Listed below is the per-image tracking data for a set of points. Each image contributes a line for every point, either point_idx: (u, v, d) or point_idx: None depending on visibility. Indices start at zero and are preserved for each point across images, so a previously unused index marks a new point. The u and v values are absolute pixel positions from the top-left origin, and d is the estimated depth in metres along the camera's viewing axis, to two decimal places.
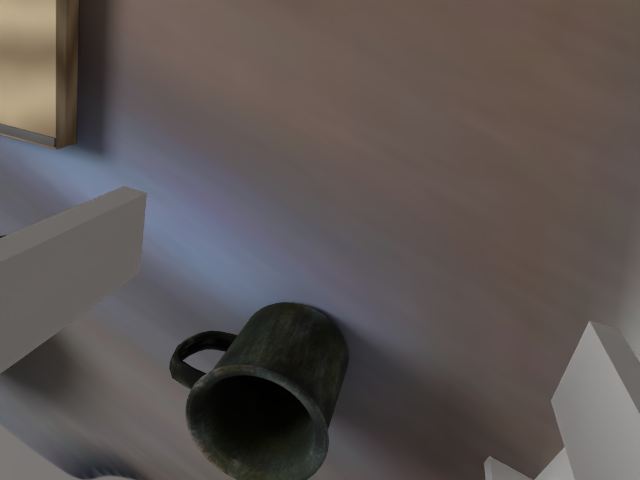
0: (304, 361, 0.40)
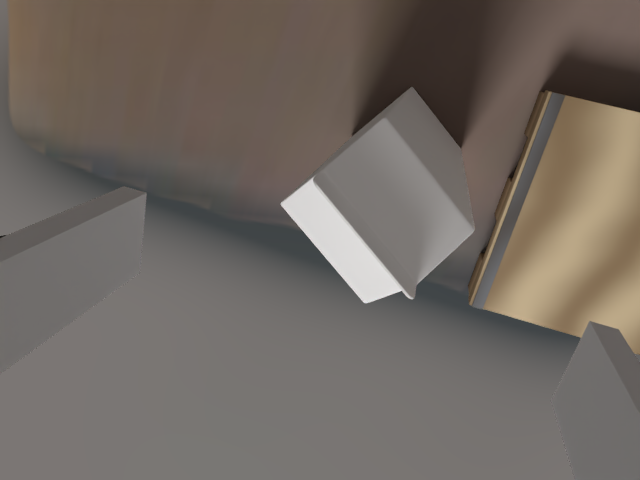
0: None
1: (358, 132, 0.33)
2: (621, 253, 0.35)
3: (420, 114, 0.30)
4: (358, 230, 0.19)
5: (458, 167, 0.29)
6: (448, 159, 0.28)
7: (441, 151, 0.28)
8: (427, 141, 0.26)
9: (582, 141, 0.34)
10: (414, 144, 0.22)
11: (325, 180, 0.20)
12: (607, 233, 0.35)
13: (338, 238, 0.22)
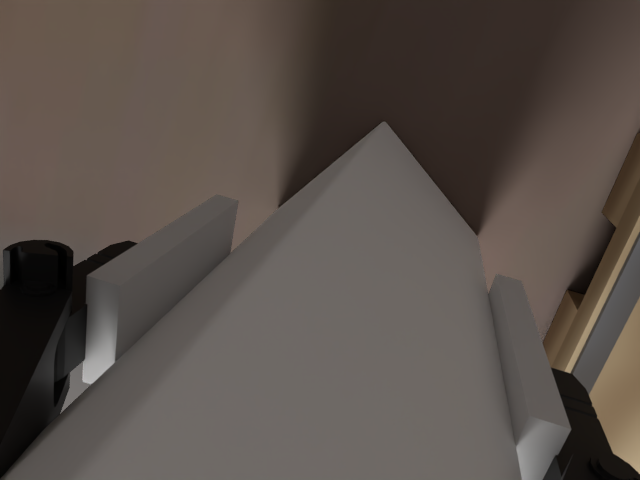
0: None
1: (258, 231, 0.15)
2: None
3: (389, 206, 0.13)
4: None
5: (483, 349, 0.12)
6: (459, 352, 0.10)
7: (440, 337, 0.10)
8: (393, 352, 0.08)
9: None
10: None
11: None
12: None
13: None
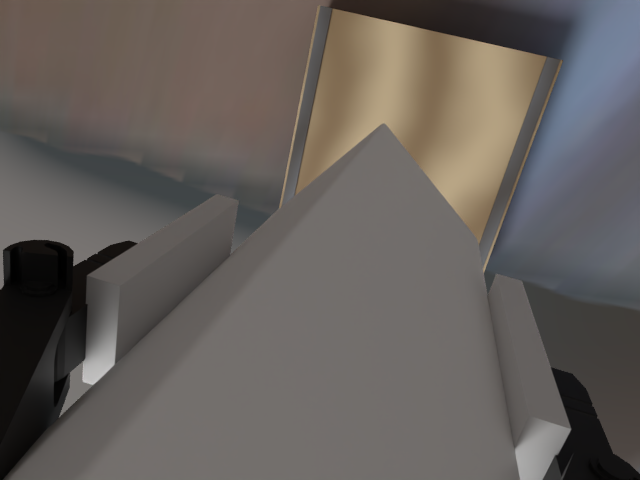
0: None
1: (258, 234, 0.15)
2: None
3: (388, 209, 0.13)
4: None
5: (482, 352, 0.12)
6: (458, 355, 0.10)
7: (439, 341, 0.10)
8: (392, 356, 0.08)
9: (354, 55, 0.35)
10: None
11: None
12: None
13: None
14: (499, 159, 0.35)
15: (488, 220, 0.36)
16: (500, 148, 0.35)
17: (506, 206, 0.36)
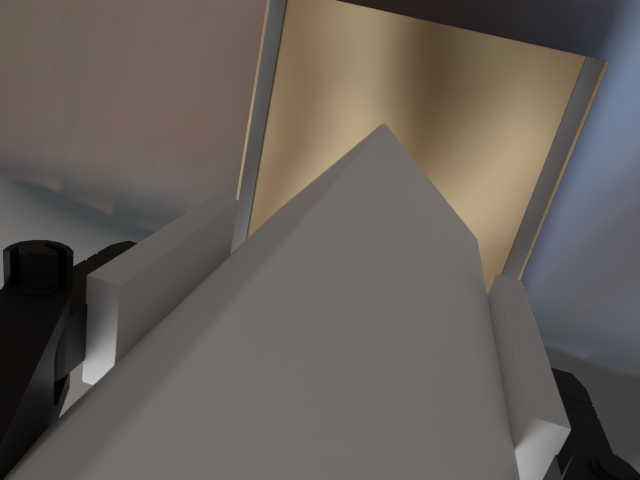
0: None
1: (258, 234, 0.15)
2: None
3: (388, 210, 0.13)
4: None
5: (482, 352, 0.12)
6: (458, 356, 0.10)
7: (439, 341, 0.10)
8: (392, 357, 0.08)
9: (320, 54, 0.25)
10: None
11: None
12: None
13: None
14: (517, 195, 0.26)
15: None
16: (518, 181, 0.25)
17: (526, 257, 0.27)
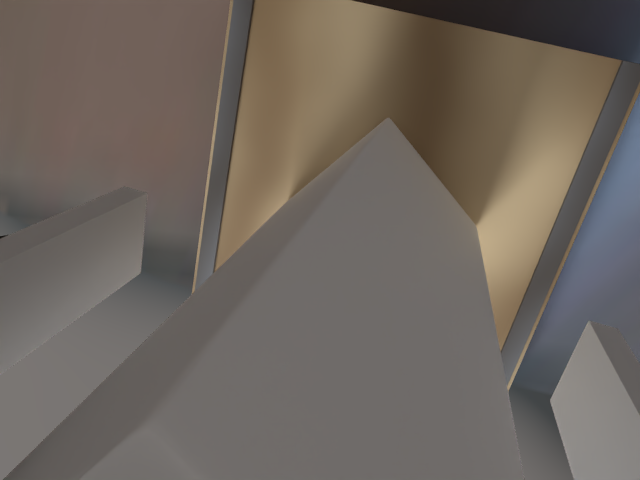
0: None
1: (275, 219, 0.16)
2: None
3: (396, 194, 0.14)
4: None
5: (481, 321, 0.13)
6: (460, 320, 0.12)
7: (443, 306, 0.11)
8: (404, 313, 0.09)
9: (296, 57, 0.21)
10: (333, 454, 0.05)
11: None
12: None
13: None
14: (534, 228, 0.21)
15: (514, 322, 0.23)
16: (535, 211, 0.21)
17: (544, 301, 0.22)
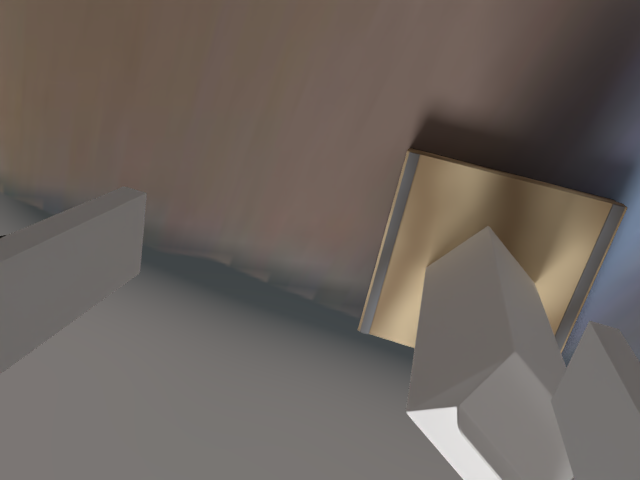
0: None
1: (445, 285, 0.35)
2: None
3: (510, 279, 0.32)
4: (498, 470, 0.21)
5: (550, 334, 0.31)
6: (544, 334, 0.30)
7: (539, 329, 0.29)
8: (532, 331, 0.27)
9: (438, 193, 0.39)
10: (535, 363, 0.23)
11: (464, 419, 0.21)
12: None
13: (465, 453, 0.23)
14: (566, 285, 0.39)
15: (555, 336, 0.40)
16: (567, 276, 0.39)
17: (572, 325, 0.40)
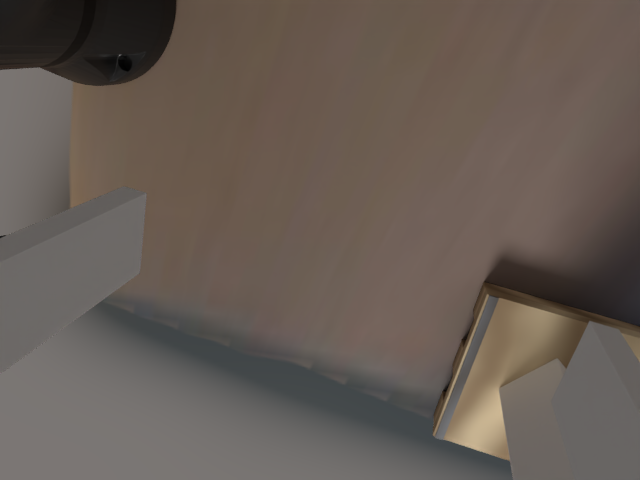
0: None
1: (529, 426, 0.40)
2: None
3: None
4: None
5: None
6: None
7: None
8: None
9: (513, 329, 0.45)
10: None
11: None
12: None
13: None
14: None
15: None
16: None
17: None
